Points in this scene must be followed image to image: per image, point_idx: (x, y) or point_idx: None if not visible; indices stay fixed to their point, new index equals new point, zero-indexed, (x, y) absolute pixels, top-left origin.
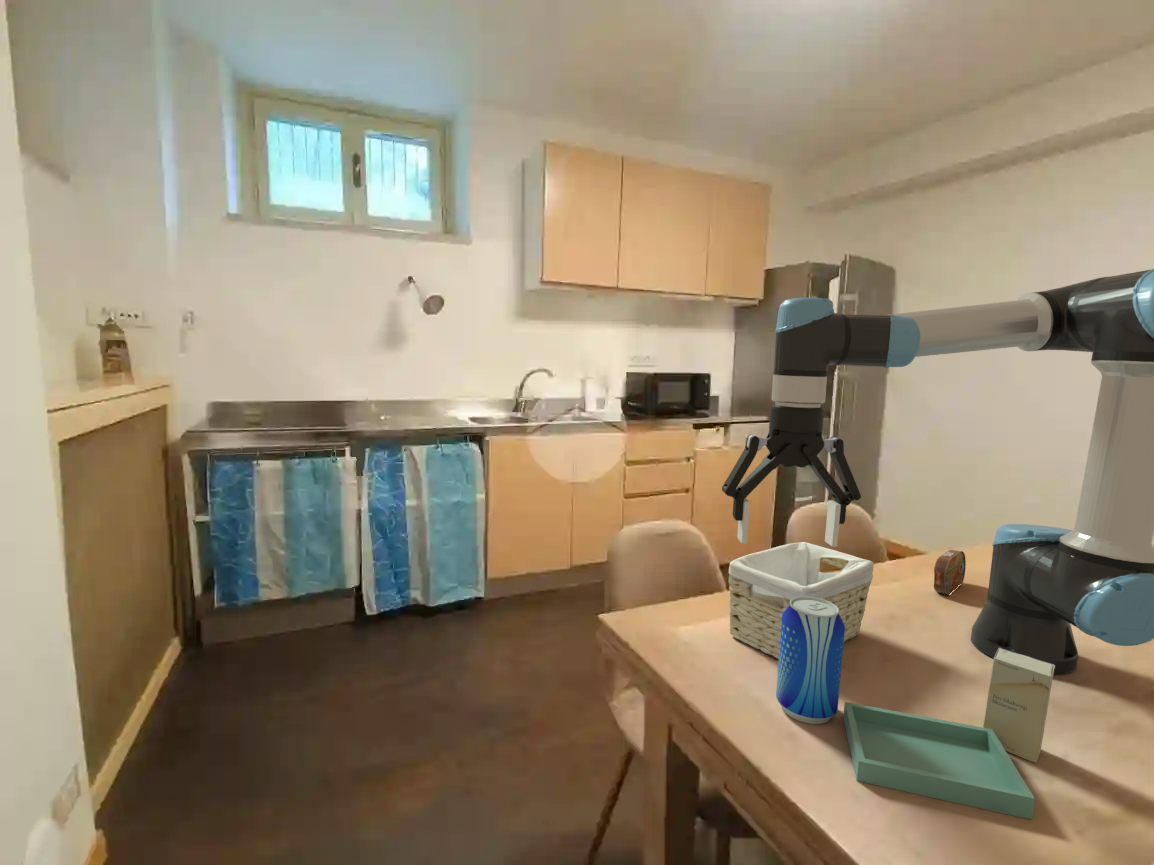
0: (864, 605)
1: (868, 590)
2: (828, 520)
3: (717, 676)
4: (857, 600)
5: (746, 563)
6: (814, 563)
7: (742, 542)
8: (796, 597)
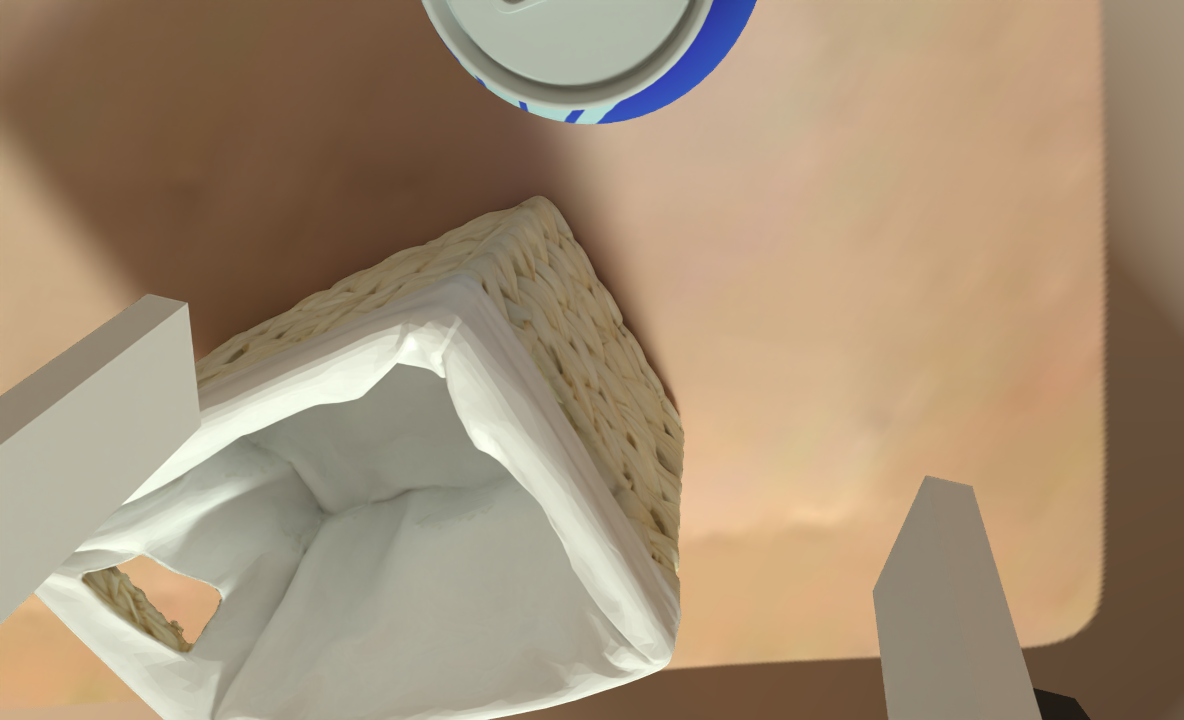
0: None
1: None
2: (68, 517)
3: (885, 185)
4: None
5: (579, 648)
6: (222, 642)
7: (969, 490)
8: (611, 98)
